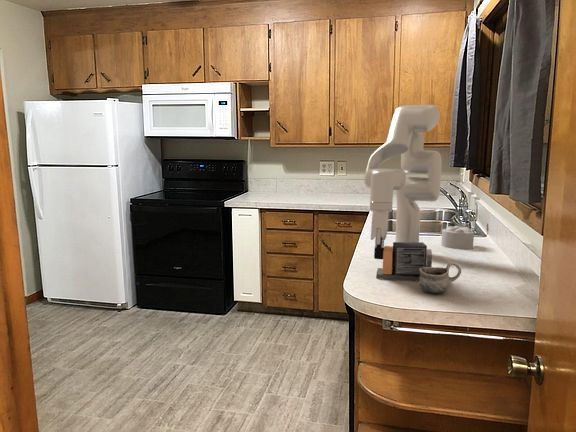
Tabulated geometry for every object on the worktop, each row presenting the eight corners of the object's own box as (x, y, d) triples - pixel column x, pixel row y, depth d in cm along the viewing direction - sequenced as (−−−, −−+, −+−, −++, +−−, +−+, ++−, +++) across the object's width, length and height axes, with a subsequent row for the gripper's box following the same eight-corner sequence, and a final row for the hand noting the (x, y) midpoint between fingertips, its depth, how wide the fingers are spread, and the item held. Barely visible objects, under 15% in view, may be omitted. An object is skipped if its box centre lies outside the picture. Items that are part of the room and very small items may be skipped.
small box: (421, 270, 168) (423, 241, 167) (426, 276, 162) (427, 246, 160) (391, 270, 169) (392, 241, 167) (394, 275, 162) (395, 245, 161)
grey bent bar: (377, 272, 172) (378, 246, 170) (429, 275, 168) (431, 249, 166) (376, 278, 164) (377, 251, 163) (430, 282, 160) (432, 255, 158)
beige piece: (473, 250, 206) (475, 230, 204) (442, 248, 209) (443, 228, 207) (470, 244, 216) (471, 225, 214) (440, 243, 219) (441, 224, 217)
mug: (415, 286, 156) (416, 256, 154) (454, 287, 155) (456, 257, 153) (421, 296, 147) (423, 264, 145) (463, 297, 146) (465, 265, 144)
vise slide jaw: (383, 267, 171) (384, 245, 170) (392, 268, 170) (393, 246, 169) (382, 273, 163) (383, 251, 162) (391, 274, 163) (392, 251, 161)
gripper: (372, 203, 172) (370, 252, 175) (367, 209, 158) (365, 263, 161) (393, 204, 170) (391, 254, 173) (390, 210, 156) (388, 264, 159)
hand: (379, 258), depth 167 cm, fingers closed
